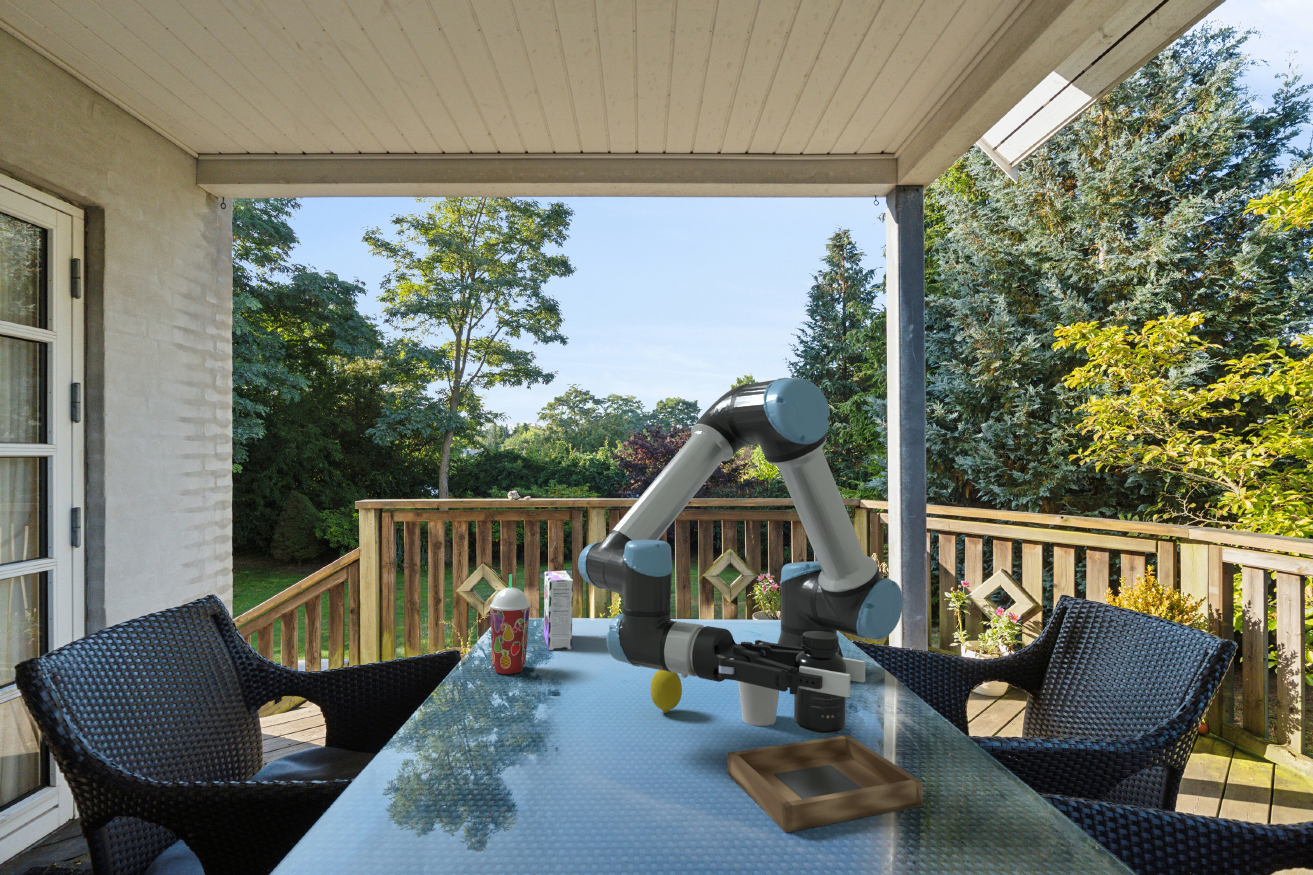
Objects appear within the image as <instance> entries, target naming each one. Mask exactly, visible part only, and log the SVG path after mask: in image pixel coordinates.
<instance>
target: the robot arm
mask: <svg viewBox="0 0 1313 875" xmlns="http://www.w3.org/2000/svg"><path fill="white" fill-rule="evenodd" d="M830 413H831V412H830V406H829V403H828V401H827V398H826V396H825V395H824V393H823V392H822V390H821V389H820V388H819V387H818V386H817V385H816V384H814V382H812V381H809V380H808V379H805V378H801V377H794V378H792V377H781V378H777V379H772V380H765V381H760V382H754V383H745V384H740V385H737V386H736V387H733V388H731V389H730V390H729V391H727V392H726V393H724V394H723V395H722V396H721V397H719V398H718V399H717V400H716V401H715V402H714V403H713V404H712V405H711V406H710V407H709V408H708V409H707V410H706V411H705V412H704V413H703V414H702V415H701V416H700V417H699V419H698V420H697V421H696V422H695V423H694V424H693V426H692V427H691V430H690V434H691V436H690V438H688V440H687V441H686V442H685V443H684V445H682V447H681V448H680V449H679V451H678V452H677V453H675V455H674V456H673V458H672V459H671V460H670V461H669V462H668V463H667V465H666V466H665V467H664V468H663V469H662V471H661V472H660V473H659V474H658V475H657V476H656V478H654V480H653V481H652V482H651V483H650V485H649V486H648V487H647V488H646V489H645V491H644V492H643V493H642V494H641V495H640V496H639V498H638V499H637V500H636V501H635V502H634V504H633V505H632V506H631V507H630V508H629V510H628V511H627V512H626V513H625V514H624V516H623V517H622V518H621V519H620V520H619V521H618V522H617V524H616V525H615V526H614V527H613V528H612V530H611V531H610V532H609V533H608V534H607V535H606V537H605V538H604V539H603V540H602V541H599V542H597V541H596V542H592V543H590V544H589V545H587V546H585V547H584V548H583V549H582V551H581V552H580V554H579V556H578V561H577V562H578V563H577V568H578V572H579V574H580V576H581V578H582V580H584V581H585V582H587V583H589V585H592V586H594V587H596V588H597V589H604V590H607V591H611V592H613V593H616V594H619V595H621V596H623V597H622V598H623V606H622V607H623V610H622V613H619V614H617V615H616V616H615V617H614V618H612V620H611V622H610V623H609V626H608V629H609V630H608V632H607V633H606V646H607V647H606V648H607V651H608V653H609V655H610V656H611V657H612V658H613V659H614V660H616V661H618V662H622V663H624V664H625V663H626V664H629V665H632V666H633V667H640V668H641V667H642V668H647V669H652V670H657V671H658V670H663V671H668V672H674V673H677V674H681V676H680V678H683V679H686V678H688V676H689V677H690V676H691V677H697V678H700V679H702V680H708V681H713V682H716V683H717V682H718V683H720V682H723V681H725V680H729V681H737V682H738V681H740V682H744V683H749V684H753V685H757V686H762V687H766V688H770V689H774V690H779V692H782V693H783V692H787V691H789V695H794V694H797V686H799V688H801V689H806V690H811V691H817V692H822V693H827V694H832V695H837V696H843V697H846V698H850V697H851V681H854V682H858V683H863V684H864V682H866V661H865V660H860V659H855V658H848V657H844V655H843V652H842V648H841V646H840V644H839V651H837V654H838V655H840V656H841V657H842V658H843V659H844V661H845V663H846V674H845V673H839V672H833V671H828V670H822V669H816V668H810V667H804V666H800V667H799V672H797V668H795V658H796V656H797V655H798V654H799V653H800V652H802V651H804V649H803V648H802V634H803V633H804V632H808V631H824V632H830V633H833V634H836V635H837V636H838V633H837V632H838V631H839V632H843V633H845V634H849V635H852V636H856V637H859V638H862V639H870V640H871V639H872V640H877V641H878V640H882V639H885V638H887V637H888V636H890V634H892V633H893V631H894V630H895V629H896V628H897V626H898V623H899V621H900V620H901V615H902V613H903V603H904V598H903V593H902V590H901V588H900V585H899V584H898V583H897V582H896V581H894V580H892V579H891V578H887V577H886V578H884V577H883V576H882V574H881V571H880V569H879V567H878V564H877V562H876V560H875V559H874V558H872V557H870V556H868V555H865V553H864V550H863V548H862V546H861V544H860V541H859V539H858V535H857V533H856V531H855V528H854V526H853V524H852V521H851V518H850V516H849V514H848V511H847V509H846V506H845V503H844V501H843V498H842V496H841V493H840V490H839V488H838V486H837V483H836V480H835V479H834V476H833V473H832V471H831V469H830V466H829V463H828V461H827V459H826V456H825V454H824V451H823V448H824V445H825V444H826V442H827V435H826V434H827V432H828V429H829V427H830V421H829V419H828V418H830V416H831V414H830ZM751 445H754V446H755V445H759V446H760V449H761V451H762V454H763V455H764V458H765V460H766V462H767V463H768V464H771V465H772V466H776V467H778V470H779V472H780V475H781V478H782V479H783V482H784V484H785V487H786V489H787V491H788V493H789V496H790V498H791V501H792V504H793V505H794V507H795V510H796V513H797V515H798V517H799V521H800V522H801V524H802V526H803V529H804V531H805V533H806V536H807V539H808V541H809V544H810V546H811V547H812V551H813V553H814V554H815V558H816V560H815V561H798V562H790V563H786V564H784V565H783V567H782V568H781V572H780V581H779V584H780V585H779V588H780V589H779V592H780V593H779V594H780V596H779V598H780V635H779V638H778V641H777V643H774V642H769V641H766V640H765V641H763V640H761V639H756V640H755V641H754V643H753V642H750V641H740V643H736V642H735V639H734V636H733V634H732V633H731V631H730V630H729V629H727V628H723V627H715V626H709V625H706V626H704V625H703V624H698V623H691V622H685V621H678V620H677V621H675V620H672V607H671V604H672V582H673V581H672V580H673V569H674V568H673V566H674V565H673V564H672V563H673V562H672V547H671V545H670V543H668V542H667V541H664V540H660V539H661V537H662V536H663V535H664V533H665V532H666V531H667V530H668V529H669V528H670V526H671V525H672V524H673V522H674V521H675V520H676V519H677V518H678V516H679V515H680V514H681V513H682V512H683V510H684V509H685V508H686V506H687V505H688V504H689V503H690V502H691V500H692V499H693V498H694V496H695V495H696V494H697V493H698V491H700V489H701V488H702V487H703V485H704V484H705V483H706V481H707V480H708V479H709V478H710V477H711V475H713V473H714V472H715V470H717V468H718V467H719V466H720V464H721V463H722V462H727V461H730V460H732V458H733V457H734V455H736V453H737V452H738V451H740V450H741V449H743V448H744V447H747V446H751ZM788 689H789V690H788Z"/></svg>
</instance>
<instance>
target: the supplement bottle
mask: <svg viewBox="0 0 1313 875" xmlns="http://www.w3.org/2000/svg"><path fill="white" fill-rule="evenodd" d="M839 641H840V640H839V635H838V634H837V635H836V634H833V633H830V632H824V631H808V632H804V633H803V634H802V648H803V649H804V651H802V652H800V653H799V654H798V655H797V656H796V658H795V668H797V672H799V667H800V666H804V667H810V668H816V669H822V670H828V671H833V672H839V673H845V674H846V663H845V661H844V659H843V658H842V657H841V656H840V655H838V654H837V651H839V645H840V642H839ZM793 695H794V696H793V700H794V701H793V710H794V711H793V712H794V713H793V714H794V715H793V716H794V722H795V723H796V725H797V726H798V727H800V728H802V730H803V729H804V730H806V731H808V732H809V731H810V732H813V733H819V734H820V733H821V734H832V733H837V732H840V731H842V730H843V729H844V728H845V726H846V722H847V720H846V719H847V718H846V716H847V714H846V713H847V697H843V696H837V695H832V694H827V693H822V692H817V691H811V690H806V689H801V688H799V686H797V694H793Z"/></svg>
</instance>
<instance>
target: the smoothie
mask: <svg viewBox="0 0 1313 875" xmlns="http://www.w3.org/2000/svg"><path fill="white" fill-rule="evenodd" d="M530 607H531V603H530V602H529V600H528V598H527V595H526V594H525V593H524V592H523V591H522V590H521V589H519V588H517V587H514V586H513V574H512V573H511V574H509V575H508V587H505V588H503V589H501V590H500V591H498V592H497V593H496V594H495V595H494V597H493V598H492V601H491V603H490V604H489V612H490V613H489V614H490V634H491V635H490V636H491V654H492V655H491V661H492V666H493V667H494V671H495V672H496V673H497V674H501V675H513V674H517V673H520V672H522V671H523V669H524V665H526V660H527V650H528V649H527V648H528V637H529V636H528V635H529V624H530V612H531V611H530V609H531V608H530Z"/></svg>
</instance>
